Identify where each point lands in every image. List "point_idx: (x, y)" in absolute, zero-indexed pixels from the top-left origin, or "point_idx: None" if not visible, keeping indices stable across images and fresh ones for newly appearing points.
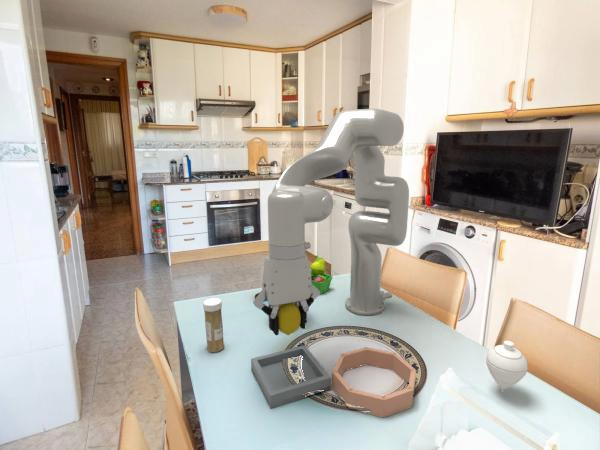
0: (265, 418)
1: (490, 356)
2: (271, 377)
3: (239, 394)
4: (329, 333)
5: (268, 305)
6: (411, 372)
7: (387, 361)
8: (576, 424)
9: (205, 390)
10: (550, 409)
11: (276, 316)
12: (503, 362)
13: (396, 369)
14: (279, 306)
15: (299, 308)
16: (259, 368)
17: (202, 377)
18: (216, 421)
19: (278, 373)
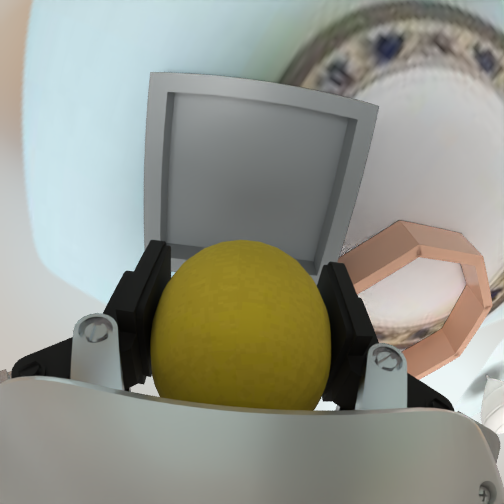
0: (136, 265)
1: (500, 415)
2: (195, 159)
3: (99, 164)
4: (492, 65)
5: (72, 371)
6: (448, 358)
7: (473, 288)
8: (466, 414)
9: (34, 112)
10: (478, 400)
11: (144, 362)
12: (490, 428)
13: (464, 301)
14: (170, 392)
15: (343, 368)
16: (156, 142)
17: (37, 55)
18: (46, 222)
19: (223, 154)
